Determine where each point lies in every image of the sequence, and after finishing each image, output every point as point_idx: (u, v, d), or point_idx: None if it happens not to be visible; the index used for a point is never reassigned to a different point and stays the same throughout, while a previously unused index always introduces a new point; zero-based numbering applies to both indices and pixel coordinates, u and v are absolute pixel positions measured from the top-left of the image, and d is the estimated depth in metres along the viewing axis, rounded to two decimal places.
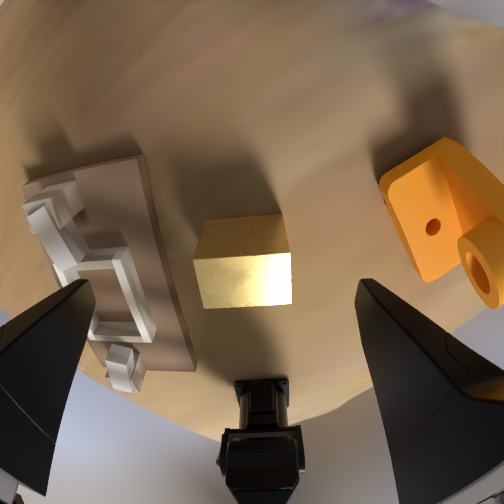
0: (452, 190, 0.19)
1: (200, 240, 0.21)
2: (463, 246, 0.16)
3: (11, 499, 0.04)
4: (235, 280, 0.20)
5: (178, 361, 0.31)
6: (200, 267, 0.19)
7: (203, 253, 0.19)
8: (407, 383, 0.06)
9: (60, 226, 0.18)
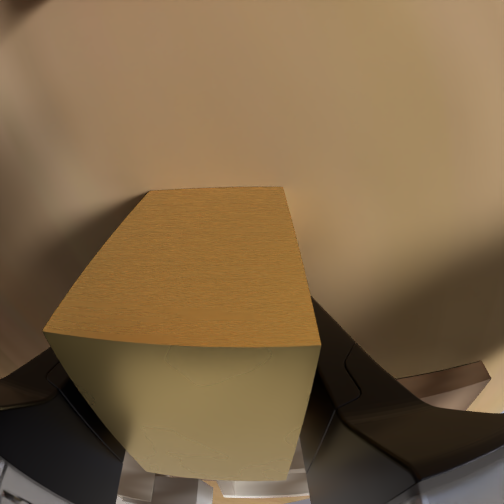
0: None
1: None
2: None
3: None
4: (187, 448, 0.05)
5: (459, 400, 0.13)
6: (161, 470, 0.07)
7: None
8: None
9: (148, 499, 0.12)
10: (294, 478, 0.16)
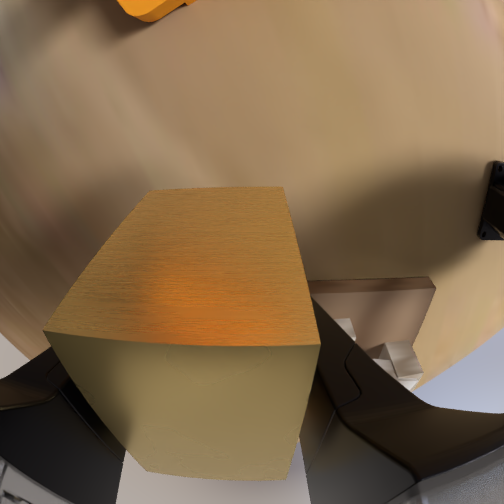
0: None
1: None
2: None
3: None
4: (187, 448, 0.05)
5: (412, 305, 0.21)
6: (161, 470, 0.07)
7: None
8: None
9: None
10: None
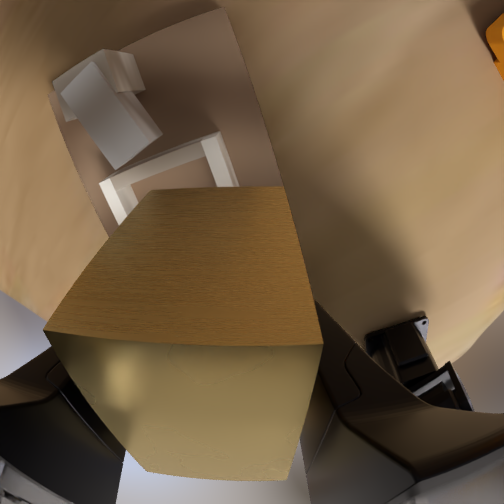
0: None
1: None
2: None
3: None
4: (188, 448, 0.05)
5: None
6: (161, 470, 0.06)
7: None
8: None
9: (117, 89, 0.11)
10: None
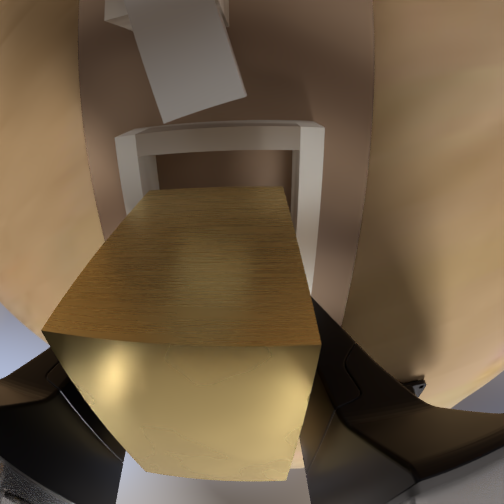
0: None
1: None
2: None
3: None
4: (187, 449, 0.05)
5: None
6: (161, 471, 0.06)
7: None
8: None
9: None
10: None
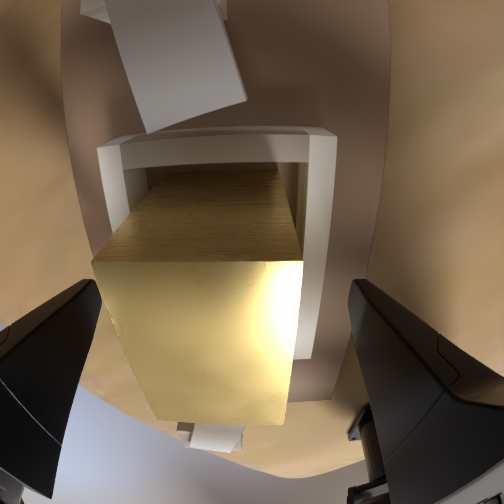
0: None
1: None
2: None
3: (16, 501, 0.04)
4: (198, 380, 0.07)
5: (310, 386, 0.17)
6: (171, 416, 0.08)
7: None
8: (398, 385, 0.06)
9: None
10: None
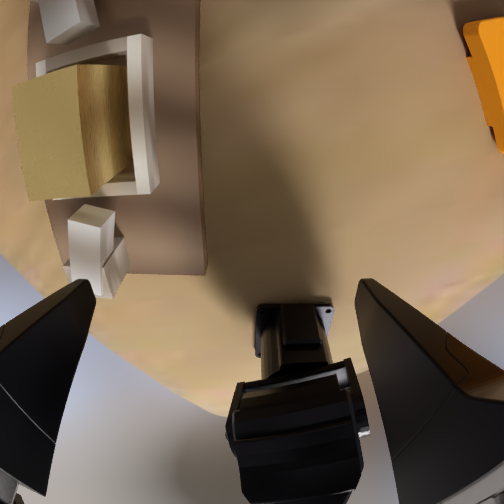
0: None
1: None
2: None
3: (11, 498, 0.04)
4: (43, 149, 0.11)
5: (181, 254, 0.21)
6: (35, 193, 0.12)
7: None
8: (407, 383, 0.06)
9: None
10: None
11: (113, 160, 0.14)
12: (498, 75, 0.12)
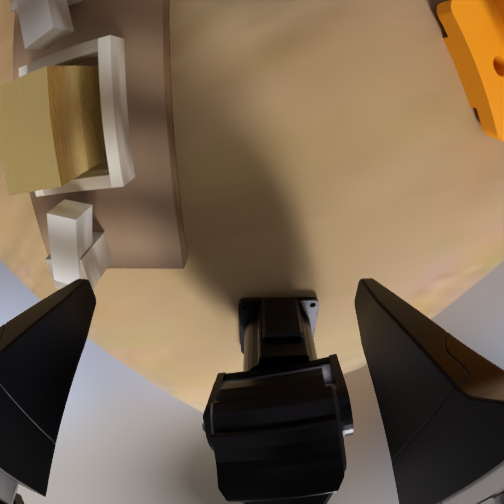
0: None
1: None
2: None
3: (11, 498, 0.04)
4: (20, 145, 0.11)
5: (158, 247, 0.21)
6: (14, 187, 0.12)
7: None
8: (407, 383, 0.06)
9: None
10: None
11: (86, 154, 0.14)
12: (476, 52, 0.12)
